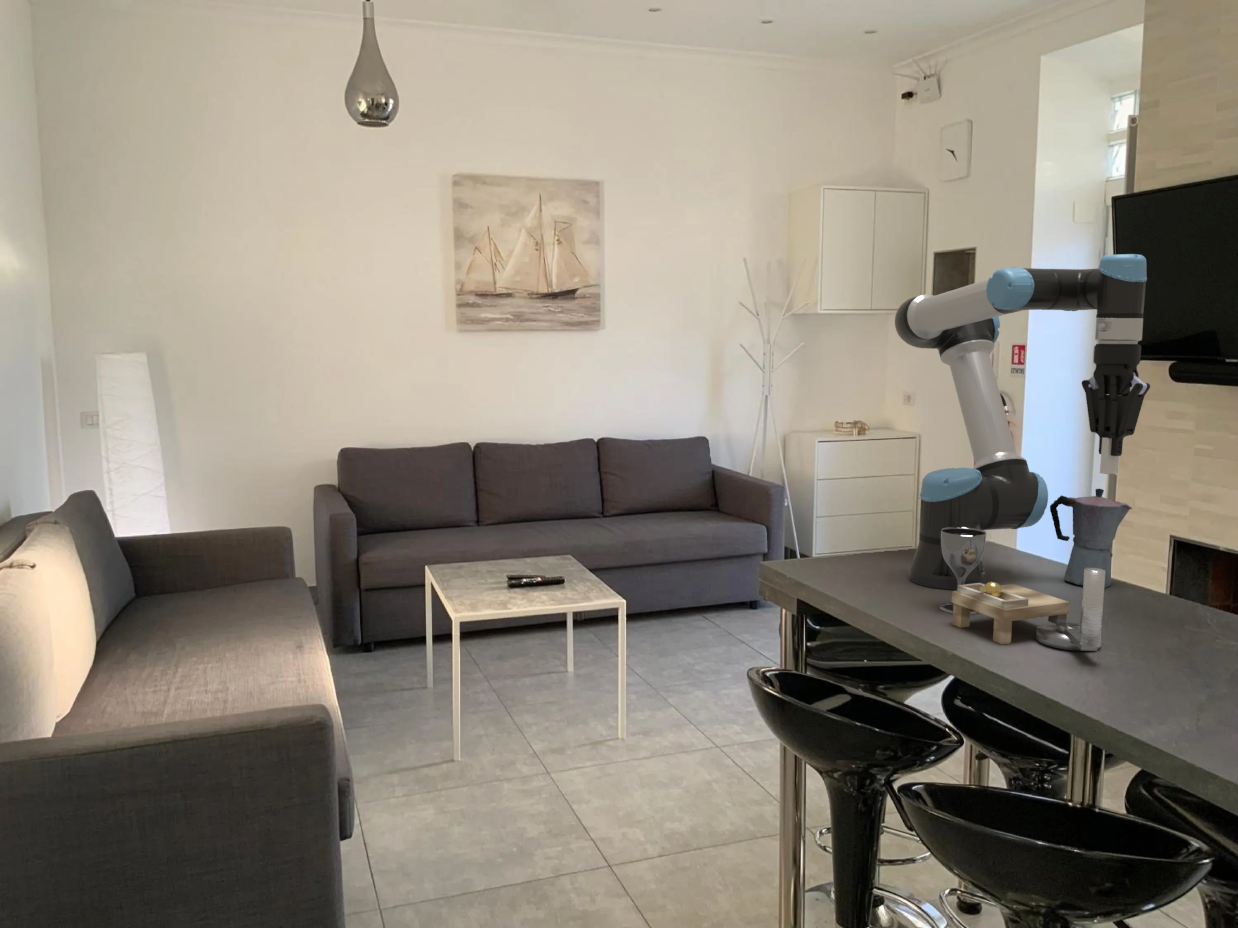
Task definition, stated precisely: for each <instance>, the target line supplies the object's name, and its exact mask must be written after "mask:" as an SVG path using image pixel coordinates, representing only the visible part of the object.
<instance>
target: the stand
mask: <svg viewBox="0 0 1238 928" xmlns="http://www.w3.org/2000/svg"><path fill="white" fill-rule="evenodd" d="M985 584H986V583H985ZM985 584H982V583H974V584H966V585H958V586H957V589H956V590H953V591H952V592H951V604H954V606H953V613H952V626H955V627H958V628H960V629H961V628H962V629H963V628H969V627H970V621H971V620H970V619H971V615H970V609H971V610H974V611H977V612H979V613H980V614H981V615H985V616H988V617H991V618H992V619H993V635H992V642H995V643H997V644H999V645H1005V644H1006V645H1007V644H1012V643H1011V642H1012V627H1013V622H1016V621H1022V620H1029V619H1037V618H1044V617H1045V618H1046V617H1048V619H1047V622H1048V623H1054V624H1057V623H1059V622H1067V618H1068V617H1067V614H1069V613H1070V603H1071V602H1070V601H1067V600H1064V599H1061V598H1059V597H1055V596H1052V595H1049V594H1045V593H1042V592H1039V591H1037V590H1034V589H1030V588H1027V587H1025V586H1024V587H1023V586H1020V585H1018V584H1015V583H1011V584H1004V585H1000V587H1001V595H1000V596H999V597H998V598H997V597H994V596H992V595H989V594H986V593H985V592H983V587H984V585H985ZM979 613H978V614H979Z"/></svg>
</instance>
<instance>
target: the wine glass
mask: <svg viewBox="0 0 1238 928" xmlns="http://www.w3.org/2000/svg"><path fill="white" fill-rule="evenodd" d="M986 532H987V531H986V530H980V529H975V528H967V527H947V528H943V529H941V550H942V555H943V558H944V560H945V562H946V563H947V565H948V566H949V567H950V568H951V570H952V571H953V572H954V574H955V576H956V578H957V583H958V585H964V582H965V579H966V577H967V576H968V575H969V573H970V572H971V571H972V570H973V569H974V568H975V567H976V566H977V565H978V564H979V563H980V562H982V559H983V556H984V554H985V548H986V539H987V533H986ZM953 606H954V603H946V604H941V605H940V606H939V609H940V610H941V611H942V612H945V613H949V614H953ZM976 614H979V612H977V611H974V610H971V609H970V616H971V615H976Z"/></svg>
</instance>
